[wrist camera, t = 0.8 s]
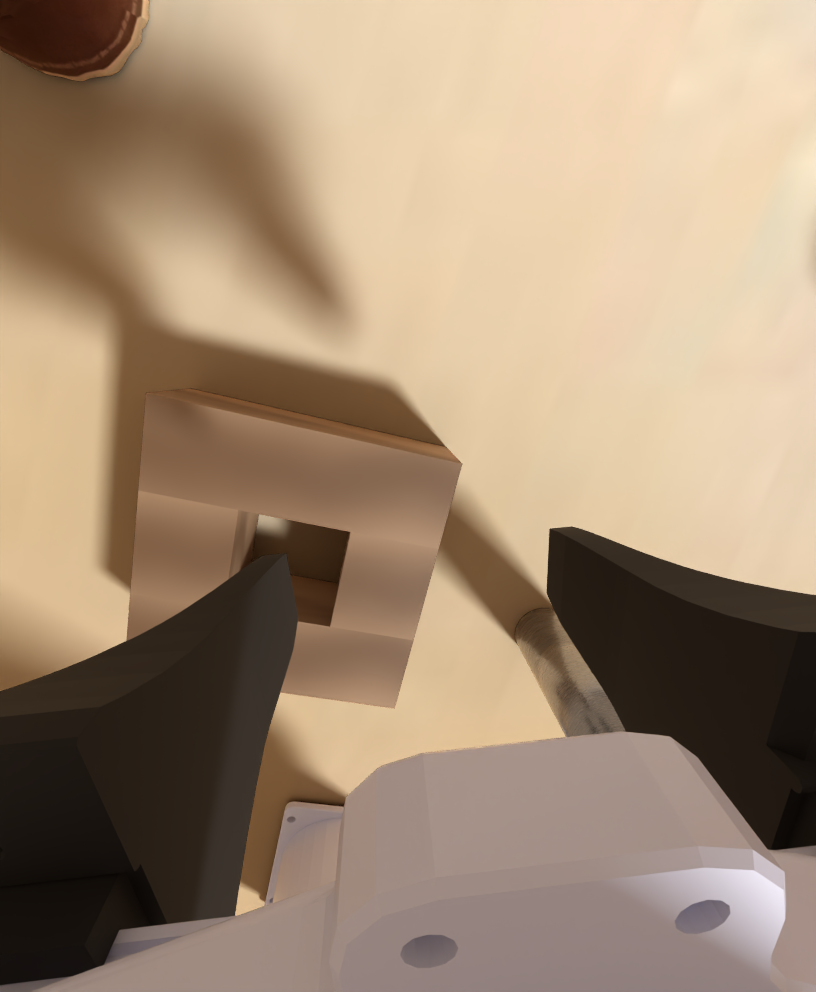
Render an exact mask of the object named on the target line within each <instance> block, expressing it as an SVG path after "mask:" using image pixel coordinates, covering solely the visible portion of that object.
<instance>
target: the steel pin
mask: <svg viewBox="0 0 816 992" xmlns="http://www.w3.org/2000/svg"><path fill="white" fill-rule="evenodd" d="M515 639H516V642H517V644H518V646H519V648H520V650H521V652H522V654H523V656H524V657H525V659H526V661H527V663H528V665H529V667H530V669H531V671H532V673H533V675H534V677H535V678H536V680H537V682H538V684H539V686H540V688H541V690H542V692H543V694H544V696H545V697H546V699H547V701H548V703H549V705H550V707H551V709H552V711H553V713H554V715H555V717H556V718H557V720H558V722H559V724H560V726H561V728H562V730H563V732H564V734H565V736H566V737H573V736H582V735H591V734H600V733H609V732H618V731H623V732H626V731H625V729H624V727H623V725H622V723H621V721H620V719H619V717H618V715H617V713H616V711H615V709H614V707H613V705H612V704H611V702H610V700H609V699H608V697H607V695H606V694H605V692H604V690H603V689H602V687H601V686H600V684H599V683H598V681H597V679H596V678H595V676H594V675H593V673H592V672H591V670H590V669H589V667H588V666H587V664H586V663H585V661H584V659H583V658H582V656H581V655H580V653H579V652H578V650H577V649H576V647H575V646H574V644H573V642H572V641H571V639H570V638H569V636H568V635H567V633H566V631H565V630H564V628H563V627H562V625H561V623H560V621H559V619H558V617H557V615H556V613H555V611H554V610H553V609H548V608H540V609H536V610H533V611H531V612H529V613H527V614H526V615H525V616H523V617H522V618H521V620H520V621H519V622H518V624H517V626H516V630H515Z"/></svg>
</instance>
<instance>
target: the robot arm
mask: <svg viewBox="0 0 816 992" xmlns="http://www.w3.org/2000/svg"><path fill="white" fill-rule="evenodd" d="M547 595H548V597H549V599H550V602H551V604H552V606H553V609H554V611H555V613H556V615H557V617H558V619H559V621H560V623H561V625H562V627H563V628H564V630H565V631H566V633H567V635H568V636H569V638H570V639H571V641H572V642H573V644H574V646H575V647H576V649H577V650H578V652H579V653H580V655H581V656H582V658H583V659H584V661H585V663H586V664H587V666H588V667H589V669H590V670H591V672H592V673H593V675H594V676H595V678H596V679H597V681H598V683H599V684H600V686H601V687H602V689H603V690H604V692H605V694H606V695H607V697H608V699H609V700H610V702H611V704H612V705H613V707H614V709H615V711H616V713H617V715H618V717H619V719H620V721H621V723H622V725H623V727H624V729H625V731H626V732H623V731H618V732H609V733H600V734H591V735H582V736H573V737H564V738H555V739H546V740H537V741H528V742H518V743H509V744H500V745H491V746H482V747H473V748H464V749H455V750H446V751H437V752H428V753H421V754H418V755H415V756H411V757H408V758H405V759H402V760H399V761H395V762H392V763H389V764H386V765H383V766H381V767H379V768H377V769H376V770H375V771H374V772H373V773H372V774H371V775H370V776H368V777H367V778H366V779H365V780H364V781H363V782H362V783H361V784H360V785H359V786H358V787H356V788H355V789H354V790H353V791H352V792H351V793H350V794H349V795H348V796H347V797H346V800H345V805H344V807H341V806H332V805H323V804H314V803H304V802H290V803H288V804H287V805H286V807H285V811H284V816H283V821H282V825H281V830H280V835H279V839H278V844H277V849H276V854H275V858H274V863H273V868H272V872H271V877H270V882H269V887H268V891H267V896H266V901H265V905H264V906H263V907H261V908H258V909H255V910H252V911H250V912H247V913H244V914H241V915H238V916H235V911H236V904H237V897H238V890H239V884H240V878H241V872H242V866H243V859H244V853H245V847H246V841H247V835H248V829H249V823H250V818H251V812H252V807H253V801H254V796H255V790H256V785H257V780H258V775H259V770H260V765H261V760H262V755H263V750H264V745H265V741H266V738H267V734H268V730H269V726H270V723H271V720H272V717H273V714H274V710H275V707H276V704H277V701H278V698H279V695H280V691H281V688H282V685H283V682H284V679H285V676H286V672H287V669H288V666H289V662H290V659H291V656H292V652H293V648H294V643H295V637H296V630H297V624H298V613H297V607H296V602H295V597H294V592H293V586H292V581H291V576H290V571H289V565H288V560H287V555H286V553H284V554H273V555H263V556H261V557H260V558H258V559H256V560H255V561H253V562H252V563H250V564H249V565H247V566H246V567H245V568H243V569H242V570H240V571H239V572H238V573H236V574H235V575H234V576H232V577H231V578H229V579H228V580H227V581H225V582H224V583H223V584H221V585H220V586H218V587H217V588H216V589H214V590H213V591H211V592H210V593H208V594H207V595H205V596H204V597H202V598H201V599H199V600H198V601H196V602H195V603H193V604H192V605H190V606H189V607H187V608H186V609H184V610H183V611H181V612H179V613H178V614H176V615H174V616H173V617H171V618H169V619H167V620H166V621H164V622H162V623H160V624H159V625H157V626H155V627H153V628H151V629H149V630H148V631H146V632H144V633H142V634H140V635H138V636H136V637H134V638H132V639H130V640H128V641H126V642H123V643H121V644H119V645H117V646H115V647H113V648H111V649H108V650H106V651H104V652H102V653H100V654H98V655H95V656H93V657H91V658H89V659H86V660H84V661H81V662H79V663H77V664H74V665H72V666H69V667H67V668H64V669H62V670H59V671H56V672H54V673H51V674H48V675H46V676H43V677H40V678H38V679H35V680H32V681H30V682H27V683H24V684H21V685H18V686H15V687H12V688H9V689H6V690H3V691H0V992H816V595H810V594H803V593H797V592H791V591H785V590H779V589H774V588H769V587H764V586H759V585H754V584H749V583H744V582H740V581H735V580H731V579H727V578H723V577H719V576H715V575H712V574H708V573H704V572H701V571H697V570H693V569H690V568H687V567H683V566H680V565H677V564H674V563H671V562H668V561H665V560H662V559H659V558H656V557H653V556H651V555H648V554H645V553H643V552H640V551H637V550H635V549H632V548H629V547H627V546H624V545H622V544H619V543H617V542H614V541H612V540H609V539H607V538H604V537H601V536H599V535H596V534H594V533H591V532H588V531H585V530H582V529H579V528H575V527H563V528H552V529H550V532H549V553H548V575H547Z"/></svg>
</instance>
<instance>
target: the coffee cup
mask: <svg viewBox="0 0 816 992" xmlns="http://www.w3.org/2000/svg"><path fill="white" fill-rule="evenodd" d="M148 9H149V0H0V49H1V50H2V51H3V52H5V53H7V54H9V55H11V56H13V57H15V58H16V59H18V60H19V61H21V62H23V63H24V64H26V65H28V66H30V67H32V68H34V69H37V70H39V71H41V72H43V73H45V74H49V75H54V76H59V77H64V78H68V79H71V80H76V81H85V80H87V79H90V78H94V77H103V76H106V75H107V76H112V75H113V74H115V73H117V72H119V71H120V70H121V68H122V67H123V65H124V64H125V62H126V61H127V58H128V56H129V55H130V54H131V53H132V51H133V50H134V49H136V48H138V46H139V44H140V43H141V41H142V40H141V35H142V29H143V28H144V27H145V26H146V24H147V22H148V20H149V12H148Z"/></svg>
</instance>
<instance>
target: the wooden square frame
mask: <svg viewBox="0 0 816 992" xmlns="http://www.w3.org/2000/svg"><path fill="white" fill-rule="evenodd" d="M461 467H462V463H461V462H460V461H459V460H458V459H457V458H456V457H455V456H454V455H453V454H452V453H451V451H450V450H449V449H448V448H447V447H444V446H440V445H435V444H431V443H427V442H422V441H418V440H413V439H409V438H405V437H400V436H396V435H392V434H387V433H383V432H379V431H374V430H370V429H365V428H361V427H357V426H352V425H348V424H344V423H339V422H335V421H330V420H326V419H322V418H317V417H313V416H309V415H304V414H300V413H296V412H291V411H287V410H282V409H278V408H274V407H269V406H265V405H261V404H256V403H252V402H248V401H243V400H239V399H234V398H230V397H226V396H221V395H217V394H213V393H208V392H204V391H199V390H195V389H181V390H171V391H160V392H149V393H146V398H145V411H144V424H143V437H142V449H141V462H140V475H139V488H138V501H137V513H136V526H135V539H134V552H133V565H132V577H131V590H130V603H129V616H128V629H127V641H128V640H130V639H132V638H134V637H136V636H138V635H140V634H142V633H144V632H146V631H148V630H149V629H151V628H153V627H155V626H157V625H159V624H160V623H162V622H164V621H166V620H167V619H169V618H171V617H173V616H174V615H176V614H178V613H179V612H181V611H183V610H184V609H186V608H187V607H189V606H190V605H192V604H193V603H195V602H196V601H198V600H199V599H201V598H202V597H204V596H205V595H207V594H208V593H210V592H211V591H213V590H214V589H216V588H217V587H218V586H220V585H221V584H223V583H224V582H225V581H227V580H228V579H229V578H231V577H232V576H234V575H235V574H236V573H238V572H239V571H240V570H242V569H243V568H245V567H246V566H247V565H249V564H250V563H251V561H252V554H253V548H254V541H255V535H256V529H257V522H258V516H259V514H261V515H266V516H271V517H276V518H282V519H287V520H292V521H297V522H302V523H307V524H312V525H317V526H323V527H328V528H333V529H338V530H343V531H348V532H349V533H348V538H347V543H346V547H345V552H344V557H343V561H342V566H341V571H340V575H339V580H338V583H332V582H327V581H321V580H316V579H310V578H304V577H299V576H293V575H290V576H291V581H292V586H293V592H294V597H295V602H296V607H297V613H298V624H297V630H296V637H295V643H294V648H293V652H292V656H291V659H290V662H289V666H288V669H287V672H286V676H285V679H284V682H283V685H282V688H281V691H280V692H281V693H288V694H295V695H302V696H309V697H316V698H323V699H330V700H337V701H345V702H352V703H359V704H366V705H373V706H380V707H387V708H394V709H395V705H396V702H397V698H398V695H399V691H400V687H401V684H402V680H403V676H404V673H405V669H406V666H407V662H408V658H409V655H410V651H411V647H412V644H413V640H414V637H415V633H416V629H417V626H418V622H419V619H420V615H421V611H422V608H423V604H424V600H425V597H426V593H427V590H428V586H429V582H430V579H431V575H432V571H433V568H434V564H435V561H436V557H437V553H438V550H439V546H440V543H441V539H442V535H443V532H444V528H445V524H446V521H447V517H448V514H449V510H450V506H451V503H452V499H453V495H454V492H455V488H456V485H457V481H458V477H459V474H460V470H461Z"/></svg>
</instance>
